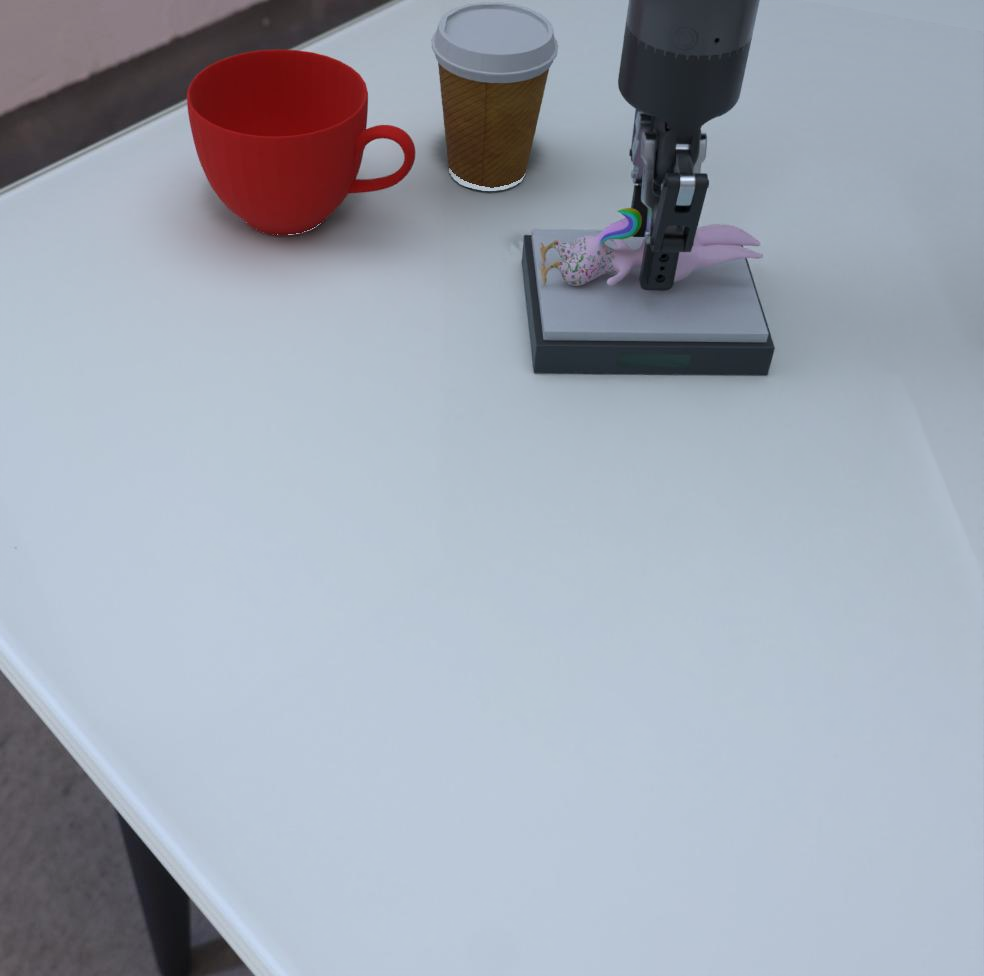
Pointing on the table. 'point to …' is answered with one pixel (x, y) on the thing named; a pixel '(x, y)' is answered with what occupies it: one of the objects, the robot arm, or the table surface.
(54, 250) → the table surface
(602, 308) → the scale
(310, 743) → the table surface
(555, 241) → the rabbit figure
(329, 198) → the ceramic cup
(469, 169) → the disposable coffee cup
